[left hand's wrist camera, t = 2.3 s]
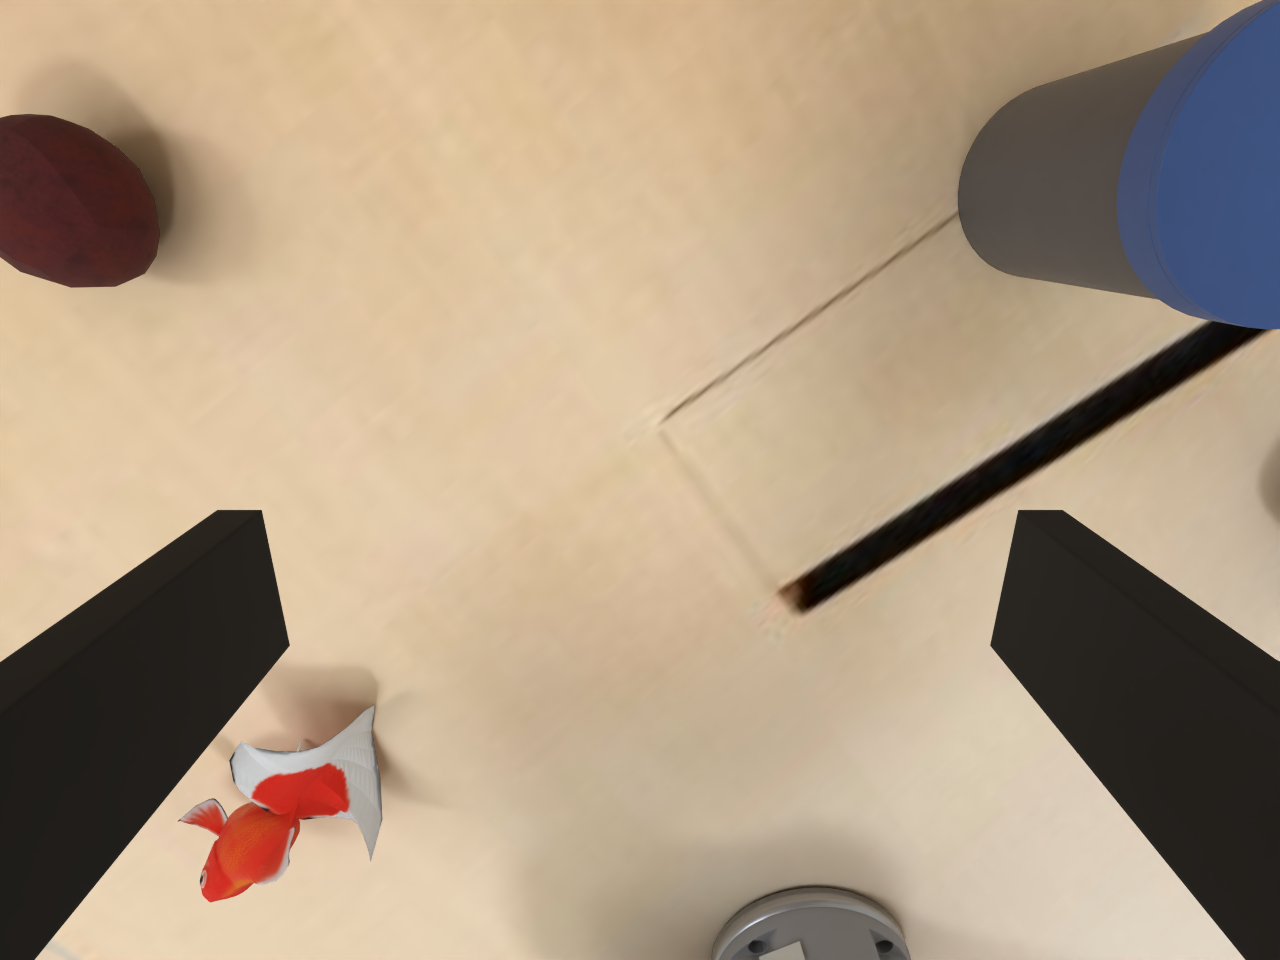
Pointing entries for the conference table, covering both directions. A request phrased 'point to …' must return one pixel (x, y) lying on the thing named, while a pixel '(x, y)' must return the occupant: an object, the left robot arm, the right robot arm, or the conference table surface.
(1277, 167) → the lid
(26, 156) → the potato
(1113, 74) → the jar
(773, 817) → the conference table surface
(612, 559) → the conference table surface
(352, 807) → the fish
